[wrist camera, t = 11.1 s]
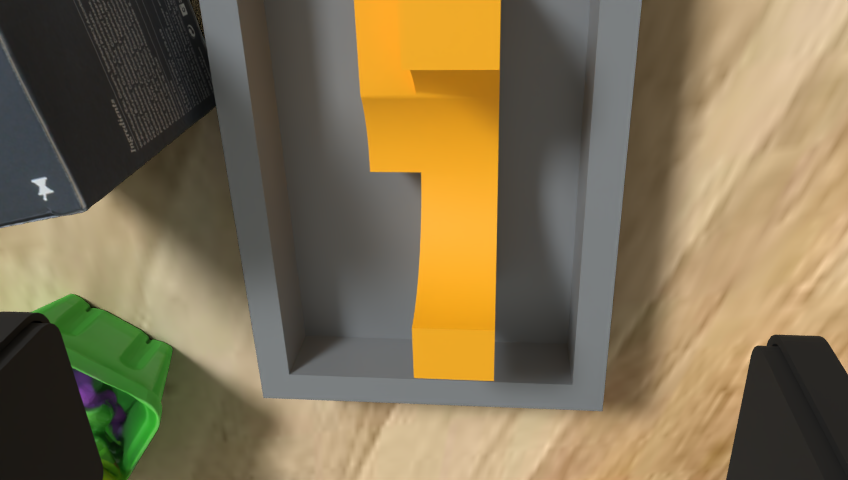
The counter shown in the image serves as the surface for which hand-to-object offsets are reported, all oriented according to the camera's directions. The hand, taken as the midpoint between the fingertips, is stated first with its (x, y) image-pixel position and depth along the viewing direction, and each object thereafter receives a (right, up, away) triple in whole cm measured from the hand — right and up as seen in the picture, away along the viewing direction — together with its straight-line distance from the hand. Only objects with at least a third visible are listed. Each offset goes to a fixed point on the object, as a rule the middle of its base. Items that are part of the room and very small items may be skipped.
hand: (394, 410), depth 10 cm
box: (-11, +10, +18) cm, 23 cm away
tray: (+1, +7, +18) cm, 19 cm away
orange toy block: (+1, +6, +17) cm, 18 cm away
